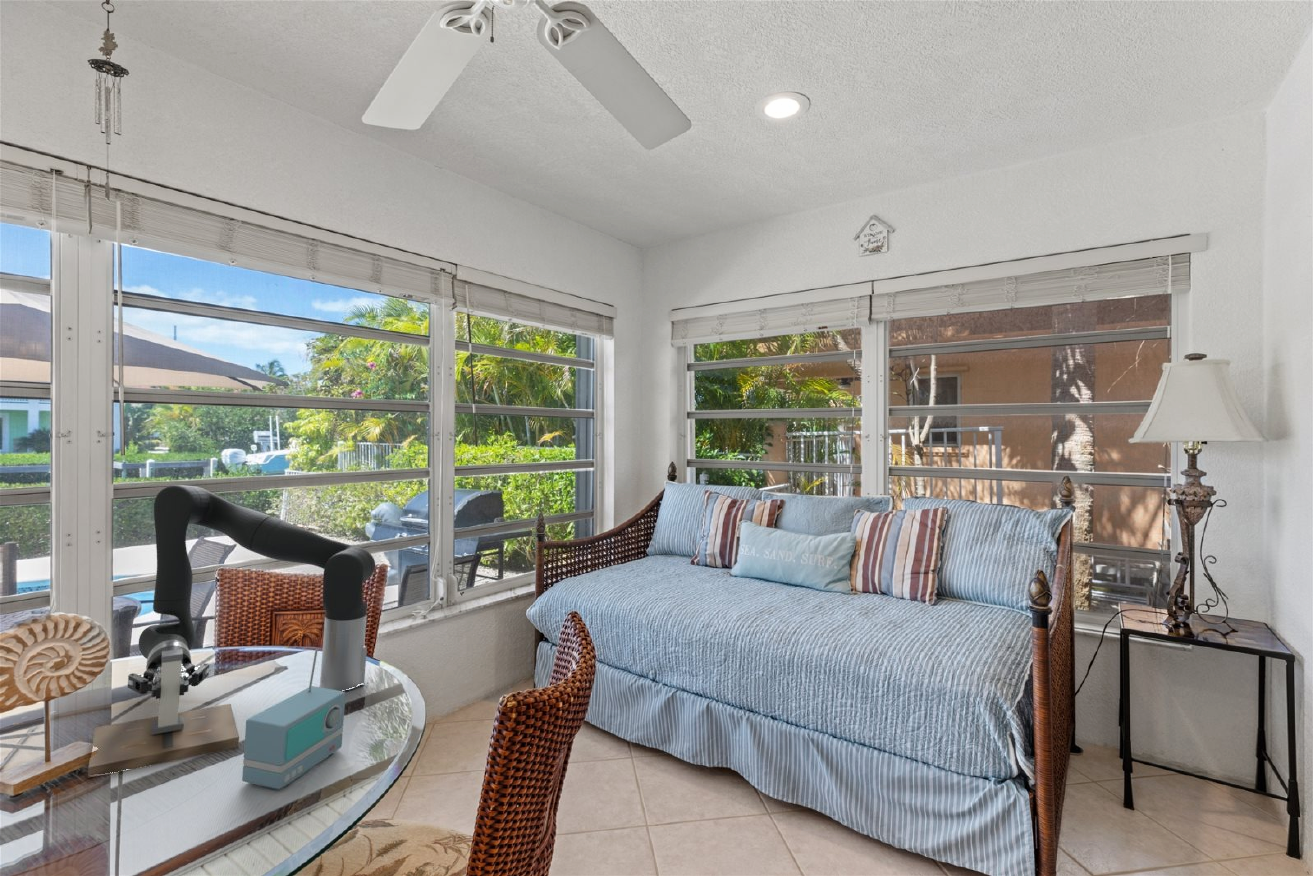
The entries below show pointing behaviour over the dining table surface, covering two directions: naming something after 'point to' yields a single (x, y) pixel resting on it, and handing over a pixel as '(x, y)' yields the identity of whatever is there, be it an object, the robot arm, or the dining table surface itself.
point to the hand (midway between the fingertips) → (170, 692)
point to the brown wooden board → (162, 740)
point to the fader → (169, 694)
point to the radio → (293, 736)
